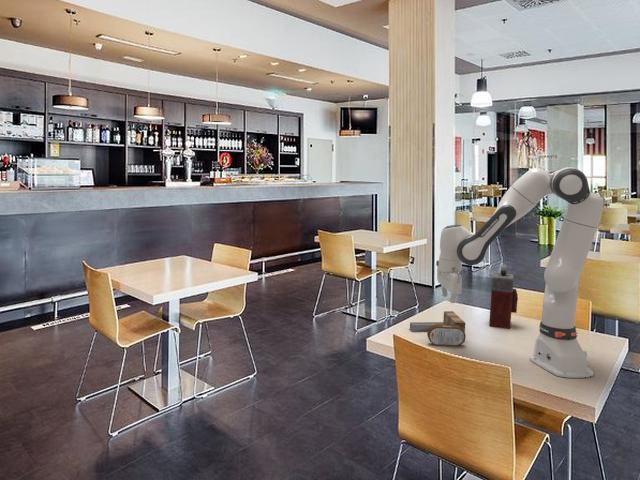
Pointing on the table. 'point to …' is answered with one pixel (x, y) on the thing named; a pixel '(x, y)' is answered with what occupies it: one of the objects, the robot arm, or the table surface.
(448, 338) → the tin
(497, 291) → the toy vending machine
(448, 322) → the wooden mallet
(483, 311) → the table surface
